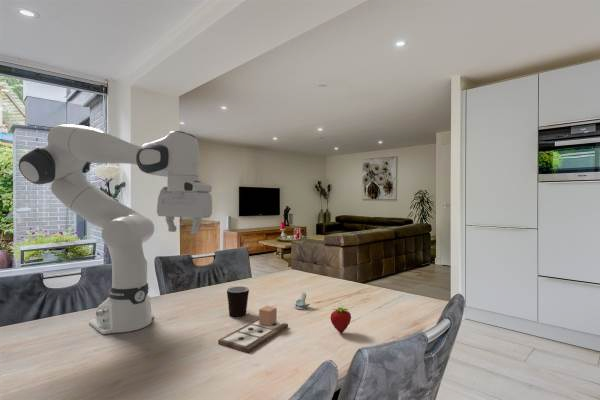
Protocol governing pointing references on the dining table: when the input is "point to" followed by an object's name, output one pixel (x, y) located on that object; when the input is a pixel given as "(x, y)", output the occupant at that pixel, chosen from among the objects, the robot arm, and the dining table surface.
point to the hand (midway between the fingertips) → (183, 232)
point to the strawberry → (340, 319)
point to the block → (267, 315)
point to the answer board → (252, 335)
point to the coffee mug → (237, 301)
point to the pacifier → (301, 302)
